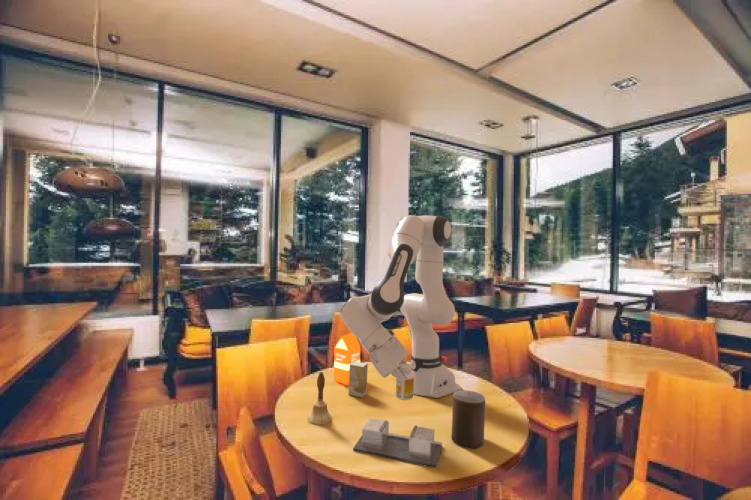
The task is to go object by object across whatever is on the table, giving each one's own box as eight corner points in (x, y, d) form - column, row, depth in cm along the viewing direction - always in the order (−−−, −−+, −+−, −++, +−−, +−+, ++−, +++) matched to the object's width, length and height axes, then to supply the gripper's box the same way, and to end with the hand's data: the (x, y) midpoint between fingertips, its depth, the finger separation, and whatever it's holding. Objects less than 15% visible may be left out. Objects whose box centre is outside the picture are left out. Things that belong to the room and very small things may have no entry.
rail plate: (353, 450, 106) (353, 429, 106) (365, 432, 117) (366, 412, 117) (436, 467, 99) (436, 445, 99) (441, 446, 109) (442, 426, 109)
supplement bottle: (415, 395, 115) (416, 364, 115) (410, 401, 110) (412, 369, 110) (398, 392, 117) (399, 361, 117) (393, 398, 112) (394, 367, 112)
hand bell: (333, 413, 130) (333, 368, 129) (330, 425, 121) (331, 377, 121) (309, 413, 129) (310, 368, 129) (305, 424, 121) (306, 376, 121)
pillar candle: (464, 451, 107) (466, 400, 107) (445, 435, 116) (447, 388, 116) (490, 445, 111) (492, 396, 111) (470, 429, 120) (472, 384, 120)
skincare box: (348, 394, 145) (348, 364, 145) (352, 390, 149) (353, 360, 149) (362, 397, 143) (363, 366, 142) (367, 393, 147) (367, 363, 146)
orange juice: (333, 380, 160) (334, 334, 159) (346, 374, 167) (347, 331, 166) (347, 385, 155) (348, 337, 155) (360, 378, 162) (361, 333, 162)
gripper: (374, 343, 106) (406, 382, 103) (393, 329, 125) (420, 361, 122) (359, 357, 107) (390, 396, 104) (380, 340, 126) (407, 372, 123)
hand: (407, 377), depth 113 cm, fingers closed on supplement bottle, 5 cm apart
